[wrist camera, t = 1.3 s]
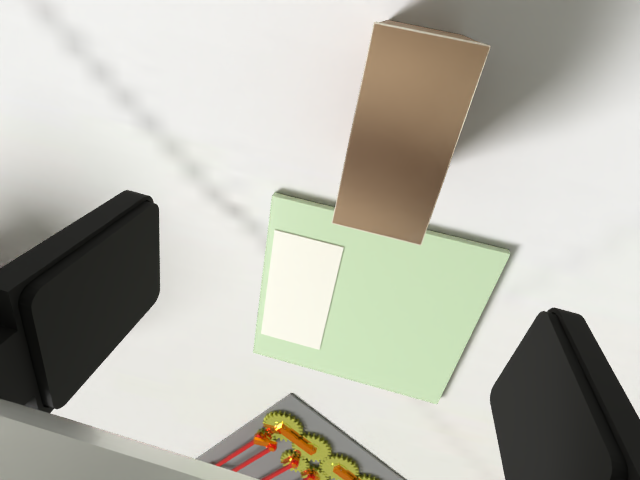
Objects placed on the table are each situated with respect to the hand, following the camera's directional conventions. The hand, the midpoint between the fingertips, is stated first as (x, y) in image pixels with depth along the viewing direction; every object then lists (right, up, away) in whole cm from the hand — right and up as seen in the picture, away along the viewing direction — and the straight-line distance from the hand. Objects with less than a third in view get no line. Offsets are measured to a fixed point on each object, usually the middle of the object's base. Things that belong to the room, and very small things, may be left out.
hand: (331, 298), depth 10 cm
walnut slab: (+5, +9, +14) cm, 17 cm away
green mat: (+3, -4, +21) cm, 22 cm away
